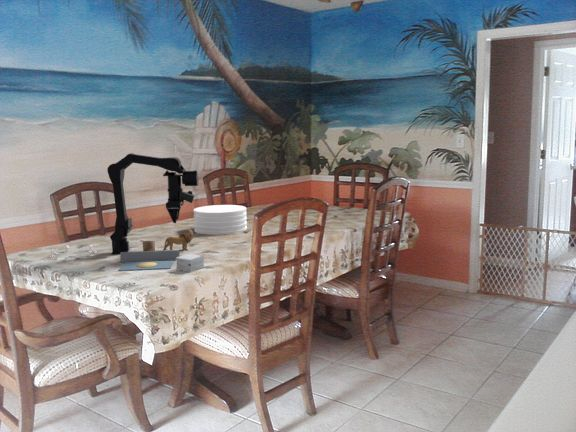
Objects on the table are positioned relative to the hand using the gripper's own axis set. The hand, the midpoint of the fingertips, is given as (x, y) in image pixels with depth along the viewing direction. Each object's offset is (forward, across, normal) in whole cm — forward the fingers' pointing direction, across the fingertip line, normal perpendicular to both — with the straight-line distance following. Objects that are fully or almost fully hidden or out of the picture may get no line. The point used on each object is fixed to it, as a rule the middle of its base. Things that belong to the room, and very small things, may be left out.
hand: (175, 221), depth 247 cm
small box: (+14, -33, -8) cm, 36 cm away
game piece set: (+15, +1, +45) cm, 48 cm away
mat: (+14, -26, +9) cm, 30 cm away
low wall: (+14, -16, +9) cm, 23 cm away
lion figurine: (+14, +1, -1) cm, 14 cm away
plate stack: (+14, +48, -18) cm, 53 cm away
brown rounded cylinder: (+14, -6, +11) cm, 19 cm away
